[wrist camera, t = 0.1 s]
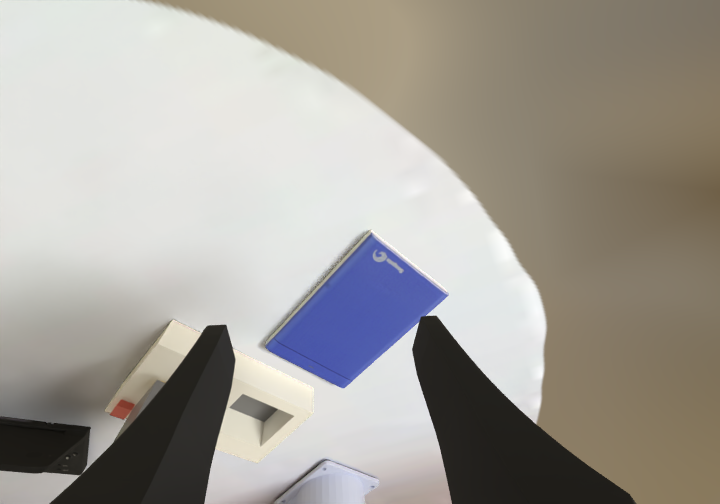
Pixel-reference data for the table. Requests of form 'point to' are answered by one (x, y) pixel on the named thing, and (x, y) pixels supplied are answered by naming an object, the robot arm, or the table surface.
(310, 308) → the hard drive
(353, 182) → the table surface
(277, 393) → the socket plate
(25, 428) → the handheld gaming console
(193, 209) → the table surface
